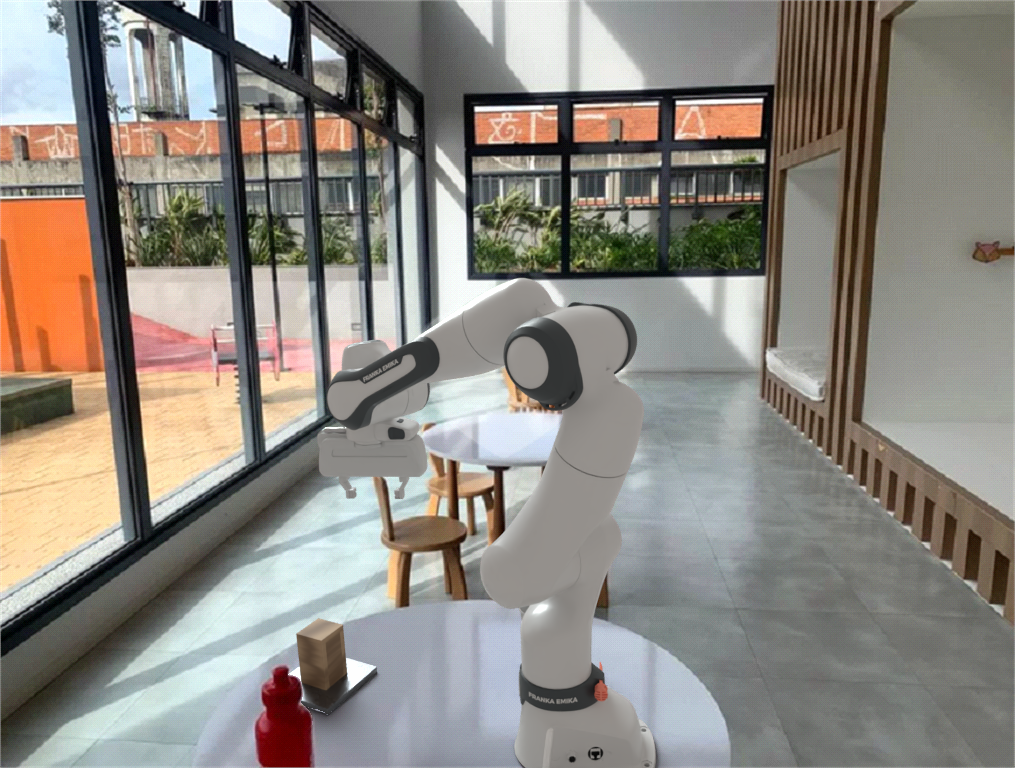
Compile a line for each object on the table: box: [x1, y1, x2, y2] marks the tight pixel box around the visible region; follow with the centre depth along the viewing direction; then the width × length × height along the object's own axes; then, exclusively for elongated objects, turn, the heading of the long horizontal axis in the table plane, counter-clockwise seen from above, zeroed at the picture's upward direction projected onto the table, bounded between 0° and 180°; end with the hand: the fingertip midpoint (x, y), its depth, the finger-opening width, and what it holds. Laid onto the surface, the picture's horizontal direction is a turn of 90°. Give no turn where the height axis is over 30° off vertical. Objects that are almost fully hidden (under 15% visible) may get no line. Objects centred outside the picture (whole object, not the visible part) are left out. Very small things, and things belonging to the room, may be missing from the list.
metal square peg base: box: [289, 657, 378, 715], centre depth 134 cm, size 14×14×6 cm
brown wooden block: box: [295, 618, 347, 690], centre depth 134 cm, size 6×6×10 cm
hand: (375, 497), depth 135 cm, fingers open, 8 cm apart
